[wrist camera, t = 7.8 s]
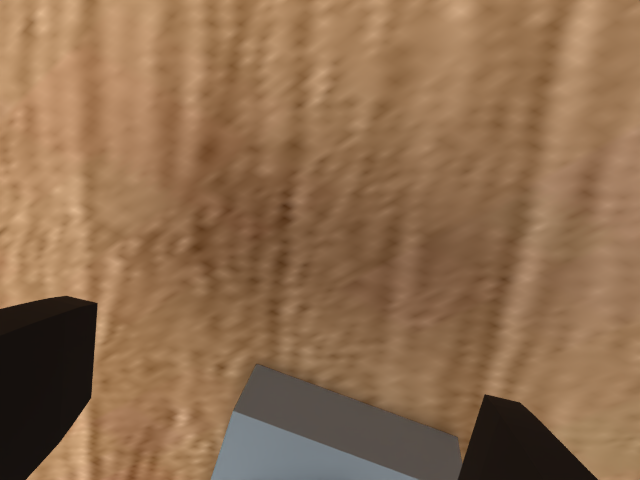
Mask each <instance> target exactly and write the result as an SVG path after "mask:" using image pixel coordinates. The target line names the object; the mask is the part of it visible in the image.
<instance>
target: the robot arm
mask: <svg viewBox="0 0 640 480" xmlns="http://www.w3.org/2000/svg"><path fill="white" fill-rule="evenodd" d="M97 304H98V303H94V302H90V301H86V300H82V299H77V298H73V297H69V296H62V297H54V298H48V299H43V300H38V301H33V302H29V303H24V304H20V305H15V306H11V307H7V308H3V309H0V480H26V479H27V478H28V477H29V475H30V474H31V473H32V472H33V471H34V470H35V469H36V468H37V467H38V466H39V465H40V464H41V462H42V461H43V460H44V459H45V458H46V457H47V456H48V455H49V454H50V453H51V451H52V450H53V449H54V448H55V447H56V446H57V445H58V444H59V442H60V441H61V440H62V438H63V437H64V436H65V434H66V433H67V432H68V430H69V429H70V428H71V426H72V425H73V423H74V422H75V421H76V419H77V418H78V416H79V415H80V413H81V412H82V410H83V409H84V407H85V406H86V405H87V403H88V402H89V400H90V399H91V392H92V377H93V362H94V348H95V333H96V318H97ZM458 480H598V479H597V478H596V477H595V476H594V475H593V474H592V473H591V472H590V471H589V470H588V469H587V468H586V467H585V466H584V465H583V464H582V463H581V462H580V461H579V460H578V459H577V458H576V457H575V456H574V455H573V454H572V453H571V452H570V451H569V450H568V449H567V448H566V447H565V446H564V445H563V444H562V443H561V442H560V441H559V440H558V439H557V438H556V437H555V436H554V435H553V434H552V433H551V432H550V431H549V430H548V429H547V428H546V427H545V426H544V425H543V424H542V423H541V422H540V421H539V420H538V419H537V418H536V417H535V416H534V415H533V414H532V413H531V412H530V411H529V410H528V409H527V408H526V407H524V406H523V405H522V404H521V403H520V402H515V401H511V400H507V399H503V398H498V397H494V396H490V395H486V394H485V395H484V398H483V402H482V405H481V408H480V411H479V414H478V417H477V420H476V423H475V427H474V430H473V433H472V436H471V439H470V442H469V445H468V449H467V452H466V455H465V458H464V461H463V464H462V467H461V470H460V474H459V477H458Z"/></svg>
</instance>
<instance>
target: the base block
mask: <svg viewBox="0 0 640 480" xmlns="http://www.w3.org/2000/svg"><path fill="white" fill-rule="evenodd" d="M461 467H462V460H461V454H460V449H459V443H458V438H457V437H456V436H453V435H450V434H448V433H445V432H442V431H439V430H437V429H434V428H431V427H428V426H426V425H423V424H420V423H417V422H415V421H412V420H409V419H407V418H404V417H401V416H398V415H396V414H393V413H390V412H387V411H385V410H382V409H379V408H376V407H374V406H371V405H368V404H365V403H363V402H360V401H357V400H355V399H352V398H349V397H346V396H344V395H341V394H338V393H335V392H333V391H330V390H327V389H324V388H322V387H319V386H316V385H313V384H311V383H308V382H305V381H303V380H300V379H297V378H294V377H292V376H289V375H286V374H283V373H281V372H278V371H275V370H272V369H270V368H267V367H264V366H261V365H259V364H256V366H255V368H254V370H253V372H252V374H251V376H250V378H249V380H248V382H247V384H246V386H245V388H244V390H243V392H242V394H241V396H240V398H239V400H238V402H237V404H236V406H235V408H234V410H233V413H232V416H231V419H230V422H229V425H228V428H227V431H226V434H225V437H224V440H223V443H222V447H221V450H220V453H219V456H218V459H217V462H216V465H215V468H214V471H213V474H212V477H211V480H458V477H459V474H460V470H461Z"/></svg>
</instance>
